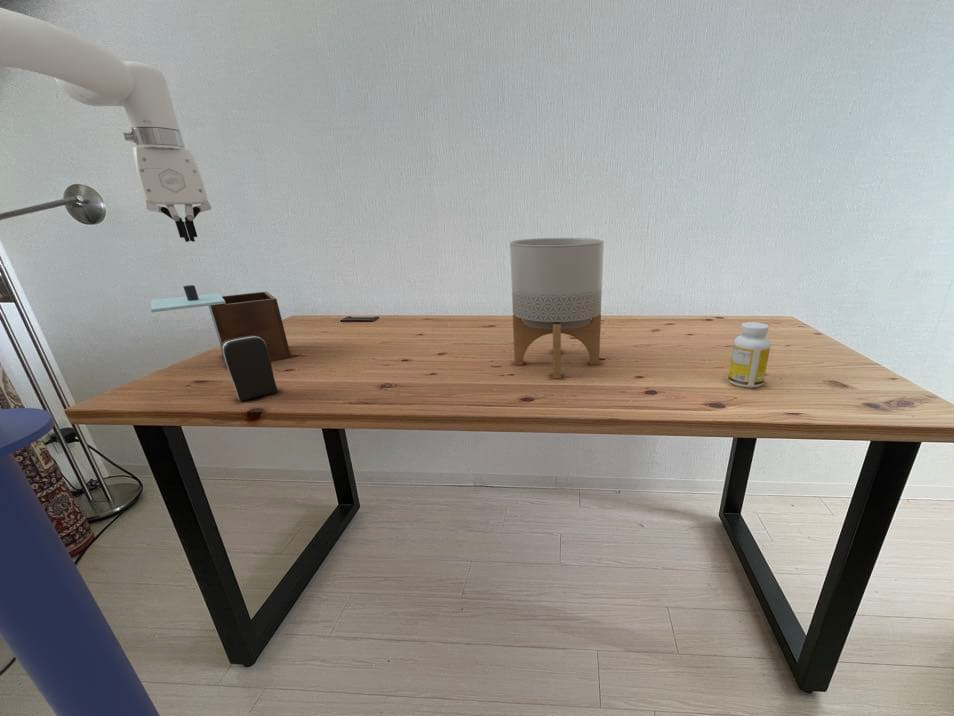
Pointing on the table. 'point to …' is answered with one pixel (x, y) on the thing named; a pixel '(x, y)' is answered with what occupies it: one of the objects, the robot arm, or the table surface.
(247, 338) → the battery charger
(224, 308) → the brown wooden box
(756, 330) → the pill bottle
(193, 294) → the lid
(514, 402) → the table surface
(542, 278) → the planter
